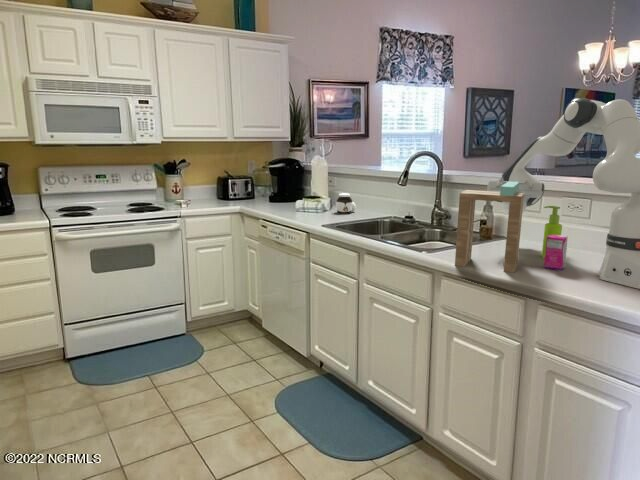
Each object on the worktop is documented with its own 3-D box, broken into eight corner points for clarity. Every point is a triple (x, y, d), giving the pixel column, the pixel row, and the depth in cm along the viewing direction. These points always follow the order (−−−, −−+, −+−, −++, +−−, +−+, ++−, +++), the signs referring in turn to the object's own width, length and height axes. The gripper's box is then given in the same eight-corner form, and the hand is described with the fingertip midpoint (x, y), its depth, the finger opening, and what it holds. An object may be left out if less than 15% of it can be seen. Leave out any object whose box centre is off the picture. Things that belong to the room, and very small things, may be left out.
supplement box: (547, 264, 177) (551, 234, 175) (565, 267, 174) (569, 236, 172) (543, 268, 173) (546, 236, 171) (561, 270, 169) (564, 238, 167)
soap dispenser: (542, 254, 193) (547, 204, 189) (560, 258, 188) (566, 206, 184) (536, 257, 189) (541, 206, 185) (554, 260, 184) (560, 207, 180)
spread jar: (335, 213, 297) (335, 194, 295) (337, 210, 308) (338, 192, 306) (354, 214, 295) (355, 195, 293) (356, 211, 306) (357, 193, 304)
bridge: (461, 257, 187) (466, 189, 182) (517, 263, 179) (524, 192, 174) (454, 265, 175) (459, 193, 170) (514, 272, 166) (521, 196, 161)
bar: (507, 189, 185) (508, 181, 185) (518, 190, 184) (519, 182, 183) (500, 195, 164) (500, 186, 164) (512, 196, 163) (513, 187, 162)
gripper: (541, 203, 196) (542, 189, 184) (487, 200, 204) (485, 186, 192) (542, 189, 197) (544, 173, 185) (489, 186, 206) (487, 171, 194)
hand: (513, 180), depth 189 cm, fingers open, 8 cm apart
